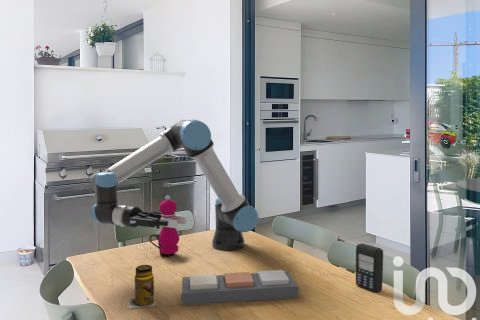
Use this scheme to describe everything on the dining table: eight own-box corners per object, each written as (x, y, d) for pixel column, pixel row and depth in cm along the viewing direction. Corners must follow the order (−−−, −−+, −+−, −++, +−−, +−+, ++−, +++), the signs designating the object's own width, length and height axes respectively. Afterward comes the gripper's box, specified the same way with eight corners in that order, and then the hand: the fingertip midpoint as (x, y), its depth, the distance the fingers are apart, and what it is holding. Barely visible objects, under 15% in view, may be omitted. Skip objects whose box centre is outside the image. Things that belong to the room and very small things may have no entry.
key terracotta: (224, 281, 151) (224, 273, 151) (249, 280, 152) (249, 271, 152) (226, 291, 142) (226, 283, 142) (253, 290, 143) (253, 281, 143)
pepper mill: (162, 255, 148) (160, 198, 146) (156, 250, 154) (154, 194, 152) (182, 252, 151) (181, 196, 149) (175, 247, 157) (174, 192, 155)
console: (182, 288, 152) (182, 277, 151) (288, 281, 157) (288, 271, 156) (182, 305, 138) (182, 293, 138) (298, 297, 143) (298, 286, 142)
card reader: (353, 285, 152) (354, 244, 151) (360, 283, 155) (361, 242, 153) (375, 294, 145) (376, 250, 144) (383, 291, 147) (384, 248, 146)
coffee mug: (181, 253, 191) (180, 231, 190) (168, 258, 184) (167, 236, 183) (161, 249, 197) (161, 228, 196) (148, 254, 190) (147, 232, 189)
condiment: (155, 306, 138) (154, 269, 137) (128, 309, 136) (127, 272, 135) (155, 297, 145) (153, 262, 144) (129, 299, 143) (127, 264, 142)
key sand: (189, 283, 149) (189, 275, 149) (215, 282, 151) (215, 273, 150) (190, 294, 141) (189, 285, 140) (217, 292, 142) (217, 283, 141)
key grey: (258, 279, 152) (258, 271, 152) (283, 278, 153) (283, 270, 153) (262, 289, 143) (262, 280, 143) (289, 288, 145) (289, 279, 144)
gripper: (143, 220, 167) (195, 226, 157) (111, 232, 151) (166, 239, 141) (143, 201, 167) (194, 206, 157) (110, 211, 151) (165, 217, 141)
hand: (181, 222), depth 149 cm, fingers closed on pepper mill, 5 cm apart
